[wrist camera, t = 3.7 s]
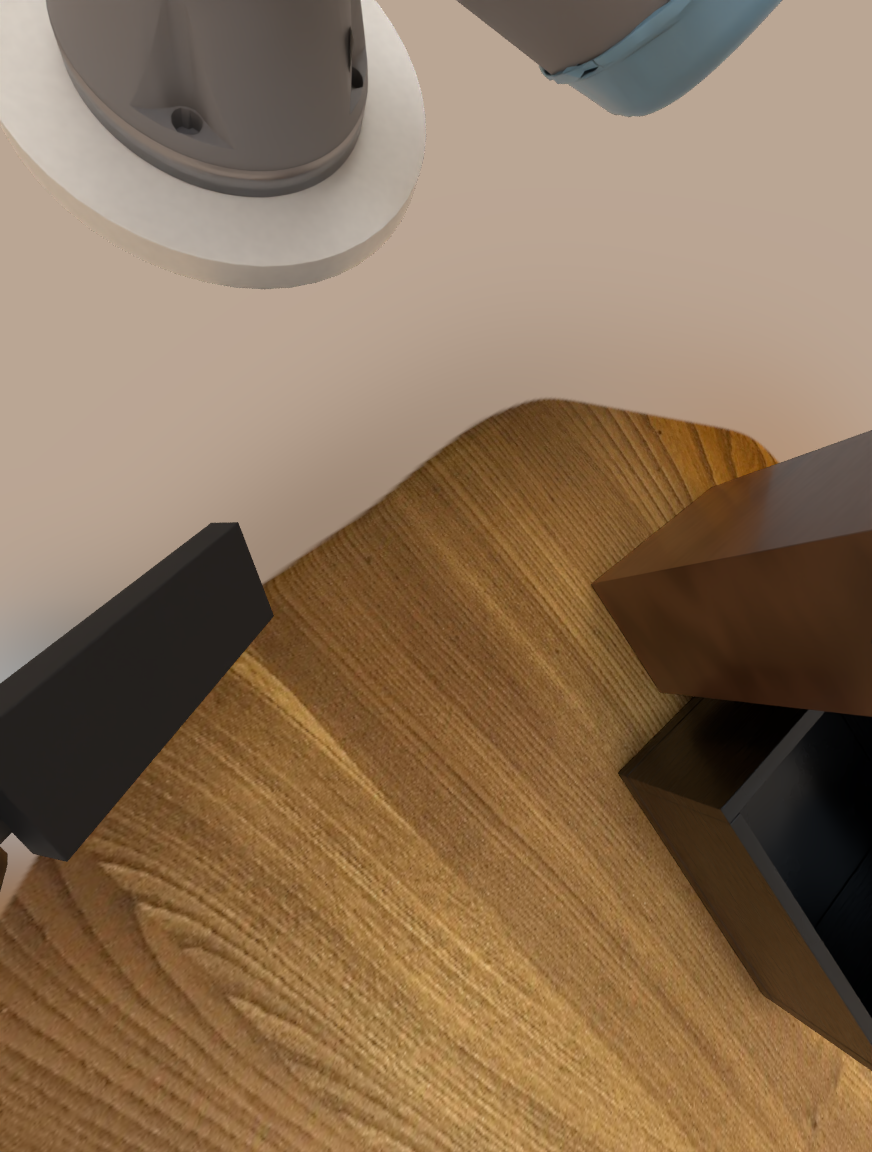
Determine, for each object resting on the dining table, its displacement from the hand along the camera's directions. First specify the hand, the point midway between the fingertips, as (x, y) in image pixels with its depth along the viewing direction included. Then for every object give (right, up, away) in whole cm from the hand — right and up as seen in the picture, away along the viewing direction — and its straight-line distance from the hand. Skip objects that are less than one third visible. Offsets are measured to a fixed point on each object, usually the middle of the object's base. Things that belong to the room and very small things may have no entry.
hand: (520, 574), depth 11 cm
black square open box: (+20, -14, +23) cm, 33 cm away
